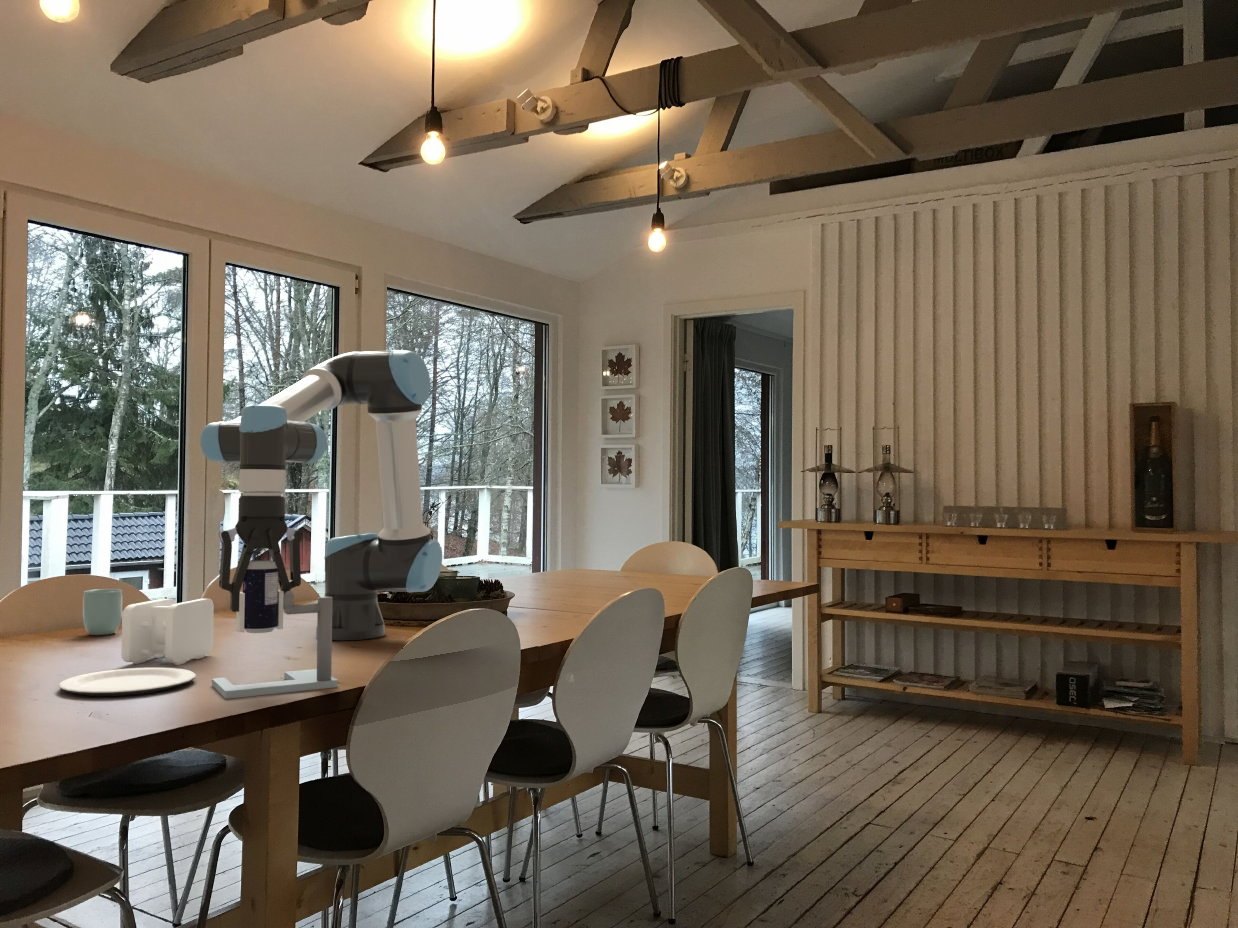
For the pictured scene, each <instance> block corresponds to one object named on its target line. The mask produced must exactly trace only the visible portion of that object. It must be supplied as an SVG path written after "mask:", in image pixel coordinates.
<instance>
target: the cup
mask: <svg viewBox="0 0 1238 928" xmlns="http://www.w3.org/2000/svg"><path fill="white" fill-rule="evenodd" d="M122 611H123V590H122V588H121V589H119V588H98V589H97V588H96V589H87V590H84V591H83V596H82V620H83V626H84V629H85V631H86V632H87V633H88V634H89V635H90V636H91V635H92V636H107V635H111V634H112V635H113V634H114V633H116V632H117V631H118V629H119V628H120V626H121V623H122Z"/></svg>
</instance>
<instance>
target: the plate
mask: <svg viewBox="0 0 1238 928" xmlns="http://www.w3.org/2000/svg"><path fill="white" fill-rule="evenodd" d="M196 676H197V674H196V673H195V672H193V671H192V670H189V669H184V668H176V667H133V668H120V669H110V670H109V669H108V670H103V671H102V670H101V671H95V672H90V673H83V674H80V675H76V676H72V677H69V678H67V679H64V680H62V681H61V682H60V683H59V684H58V688H59V689H60V690H61V691H63V692H67V693H72V694H79V695H84V696H90V697H91V696H92V697H97V696H98V697H119V696H120V697H121V696H135V695H143V694H145V695H146V694H151V693H157V692H161V691H166V690H169V689H172V688H175V687H178V686H179V687H180V686H182V685H185V684H188V683H190V682H192V681H193V680H195V679H196Z"/></svg>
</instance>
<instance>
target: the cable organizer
mask: <svg viewBox="0 0 1238 928" xmlns="http://www.w3.org/2000/svg"><path fill="white" fill-rule="evenodd" d="M214 608H215V607H214V603H213V600H212V599H211V598H198V599H193V600H189V601H184V602H178V603H176V601H175V600H174V599H172V598H160V599H158V598H157V599H153V600H148V601H143V602H142V601H141V602H138V603H132V604H128V605H127V606H125V608H124V609H123V610H122V616H121V659H122V661H124V662H126V663H132V664H133V665H139V664H142V663H145V662H147V660H149V659H150V660H151V659H160V658H165V661H166V662H168V663H171V664H173V665H174V666H180V665H183V664H185V663H187V662H188V661H189V660H192V659H193V660H199V659H202V658H205V657H206V656H207V655H208V654H210V653H211V651H212V649H213V646H214V610H215V609H214Z"/></svg>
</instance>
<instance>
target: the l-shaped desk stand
mask: <svg viewBox="0 0 1238 928" xmlns="http://www.w3.org/2000/svg"><path fill="white" fill-rule="evenodd" d="M283 613H284V614H285V615H304V614H316V613H317V617H316V618H317V620H316V621H317V622H316V623H317V624H316V628H317V637H316V638H317V640H316V668H312V669H303V670H302V669H301V670H292V671H291V670H289V671H284V673H283V674H284V675H283V677H284V678H283V679H284V680H279V681H278V680H277V681H276V680H275V681H267V682H257V683H247V684H237V685H234V684H233V683H231V682H230V681H229V680H228V679H227V678H226V677H215V678H212V679H211V687H213V688H214V689H215V690H216V691H217V692H218V693H219V695H221V696H222V697H223V698H224V699H225V700H227V699H237V698H245V697H246V698H247V697H255V696H265V695H275V694H285V693H292V692H293V693H294V692H295V693H296V692H302V691H304V692H305V691H314V690H321V689H322V690H323V689H331V688H338V687H339V685H338V684H339V681H338V679H337V678H335V677H333V676H332V664H333V663H332V660H333V659H332V656H333V655H332V652H333V640H332V597H325V596H319V597H317V602H316V603H314V602H313V603H302V604H301V603H299V604H295V594H294V592H293V591H291V590H290V591H287V592H286V593H285V594H284V609H283Z"/></svg>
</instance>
